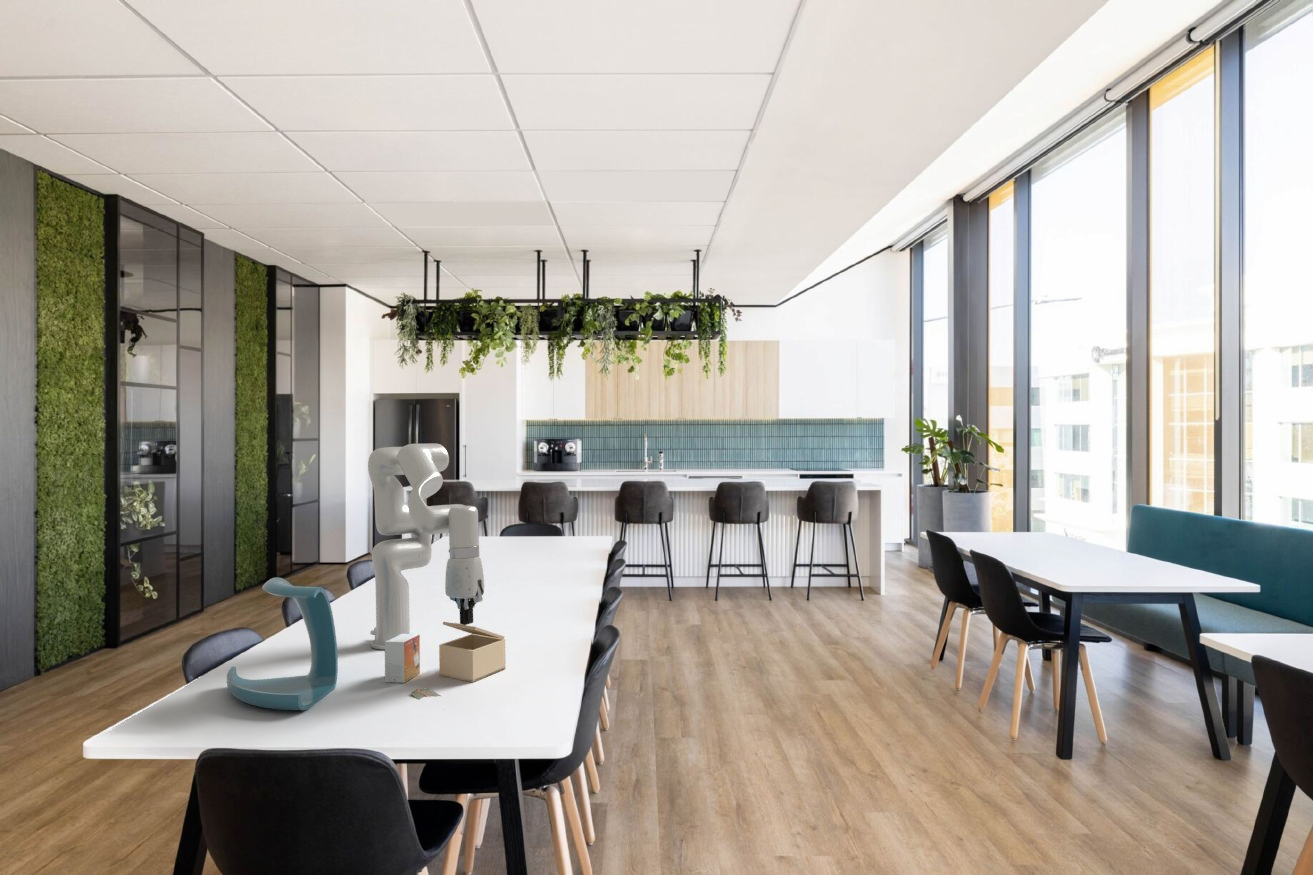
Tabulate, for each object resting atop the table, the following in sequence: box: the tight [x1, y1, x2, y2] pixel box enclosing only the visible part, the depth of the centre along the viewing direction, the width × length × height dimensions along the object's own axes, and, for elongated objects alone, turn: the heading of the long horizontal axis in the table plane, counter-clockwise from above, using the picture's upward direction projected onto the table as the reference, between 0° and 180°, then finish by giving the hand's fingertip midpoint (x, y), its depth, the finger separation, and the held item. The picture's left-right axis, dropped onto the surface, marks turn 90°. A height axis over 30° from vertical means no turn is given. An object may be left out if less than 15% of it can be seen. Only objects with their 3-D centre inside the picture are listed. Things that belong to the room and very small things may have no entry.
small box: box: [384, 633, 421, 684], centre depth 188 cm, size 8×6×10 cm
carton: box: [438, 633, 506, 683], centre depth 191 cm, size 12×12×8 cm
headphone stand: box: [226, 576, 339, 711], centre depth 176 cm, size 26×28×28 cm
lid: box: [442, 621, 505, 639], centre depth 192 cm, size 12×12×1 cm
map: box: [410, 687, 442, 700], centre depth 170 cm, size 5×20×1 cm, turn 46°
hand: (466, 623), depth 188 cm, fingers closed
